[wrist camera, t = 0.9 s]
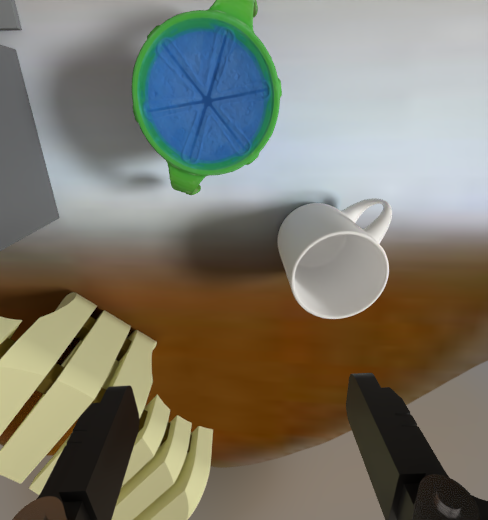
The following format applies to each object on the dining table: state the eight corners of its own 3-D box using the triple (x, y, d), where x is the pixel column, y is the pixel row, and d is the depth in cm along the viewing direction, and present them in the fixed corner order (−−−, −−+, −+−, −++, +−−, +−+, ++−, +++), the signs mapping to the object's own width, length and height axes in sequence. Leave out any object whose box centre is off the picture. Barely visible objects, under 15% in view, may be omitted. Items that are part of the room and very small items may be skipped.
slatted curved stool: (217, 364, 45) (207, 504, 29) (153, 427, 50) (114, 578, 33) (11, 237, 37) (-168, 330, 20) (-43, 327, 41) (-223, 462, 25)
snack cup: (227, 198, 36) (225, 226, 26) (137, 154, 33) (99, 167, 24) (299, 52, 30) (329, 22, 21) (197, -13, 28) (179, -79, 19)
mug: (387, 217, 37) (442, 252, 27) (307, 282, 40) (331, 335, 30) (341, 162, 34) (385, 179, 25) (261, 237, 38) (270, 278, 28)
